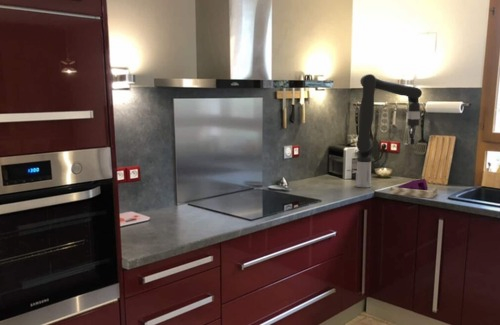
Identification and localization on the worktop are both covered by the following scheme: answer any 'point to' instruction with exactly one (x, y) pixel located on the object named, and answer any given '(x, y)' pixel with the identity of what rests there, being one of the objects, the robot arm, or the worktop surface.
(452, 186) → the worktop surface
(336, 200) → the worktop surface
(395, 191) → the beige tray
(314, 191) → the worktop surface
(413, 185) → the purple wedge
